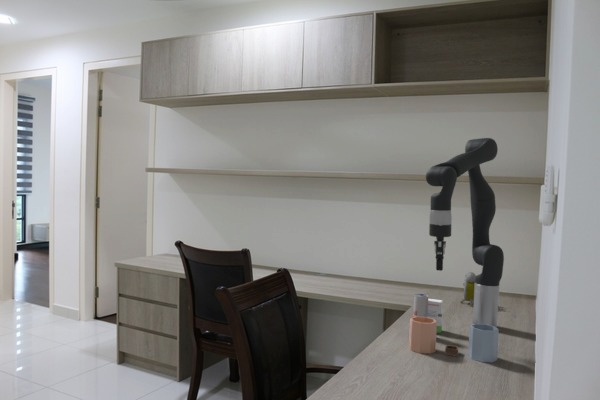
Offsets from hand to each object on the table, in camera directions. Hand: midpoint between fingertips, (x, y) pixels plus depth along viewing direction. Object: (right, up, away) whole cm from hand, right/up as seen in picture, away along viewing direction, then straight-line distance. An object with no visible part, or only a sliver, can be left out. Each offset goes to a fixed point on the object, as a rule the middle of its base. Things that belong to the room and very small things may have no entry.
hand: (439, 268), depth 175 cm
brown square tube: (+1, -27, -12) cm, 29 cm away
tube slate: (+10, -27, -15) cm, 33 cm away
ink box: (0, -26, +14) cm, 29 cm away
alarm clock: (+31, -26, +61) cm, 73 cm away
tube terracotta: (-9, -26, -9) cm, 29 cm away
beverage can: (-6, -26, +7) cm, 27 cm away
